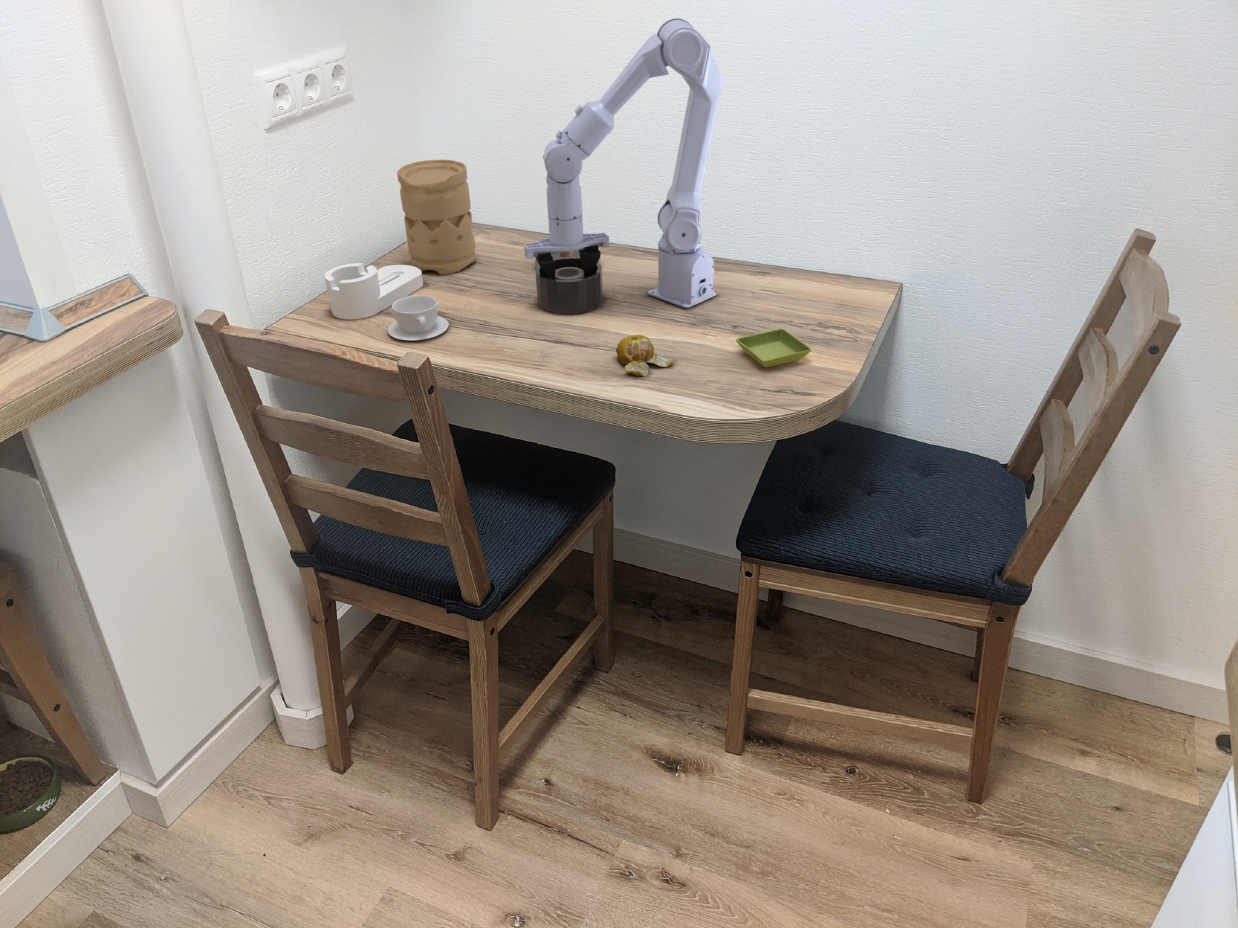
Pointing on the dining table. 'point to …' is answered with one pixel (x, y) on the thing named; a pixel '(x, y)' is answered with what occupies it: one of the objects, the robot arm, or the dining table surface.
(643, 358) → the fruit
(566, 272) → the tape roll
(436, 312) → the teacup
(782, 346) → the saucer
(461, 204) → the container
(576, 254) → the lid
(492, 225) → the dining table surface
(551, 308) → the pot
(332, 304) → the bracket
